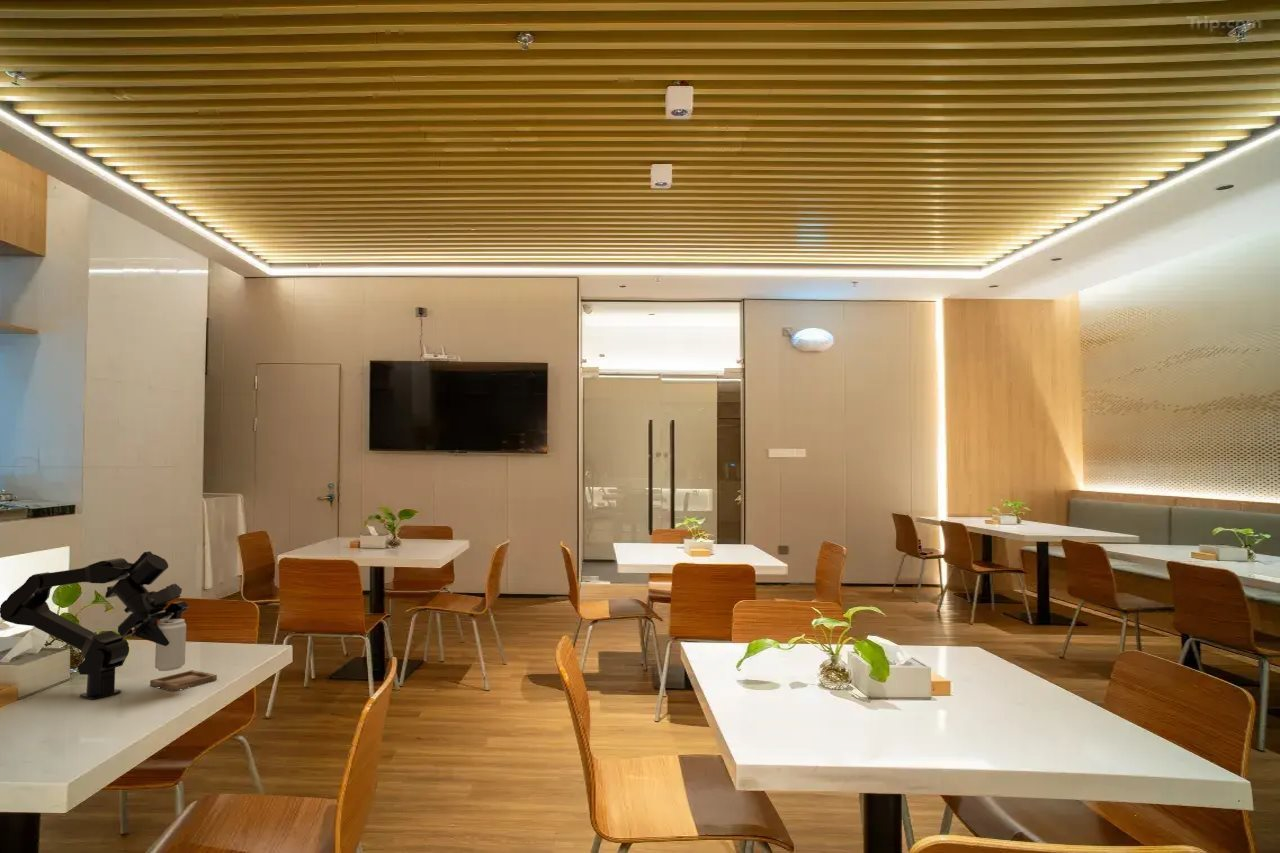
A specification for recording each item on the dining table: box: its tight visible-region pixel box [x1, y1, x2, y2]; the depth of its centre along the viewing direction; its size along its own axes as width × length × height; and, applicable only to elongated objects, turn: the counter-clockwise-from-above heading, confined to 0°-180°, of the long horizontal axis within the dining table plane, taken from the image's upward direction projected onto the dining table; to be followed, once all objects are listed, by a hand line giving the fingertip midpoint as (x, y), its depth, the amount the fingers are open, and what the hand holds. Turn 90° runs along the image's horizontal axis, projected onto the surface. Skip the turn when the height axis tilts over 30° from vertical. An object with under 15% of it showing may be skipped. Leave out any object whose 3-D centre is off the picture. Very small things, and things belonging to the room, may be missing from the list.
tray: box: [149, 669, 218, 692], centre depth 192 cm, size 11×11×2 cm
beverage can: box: [154, 618, 187, 672], centre depth 182 cm, size 6×6×12 cm
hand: (176, 641), depth 182 cm, fingers closed on beverage can, 6 cm apart
